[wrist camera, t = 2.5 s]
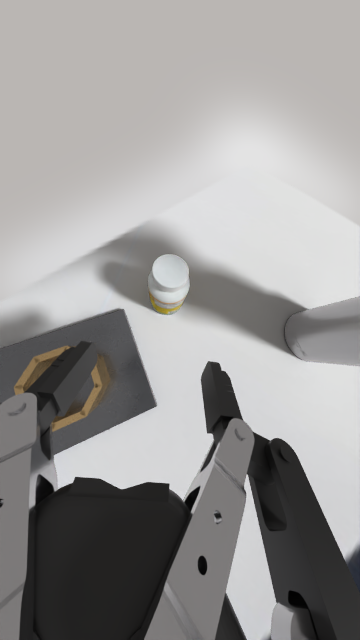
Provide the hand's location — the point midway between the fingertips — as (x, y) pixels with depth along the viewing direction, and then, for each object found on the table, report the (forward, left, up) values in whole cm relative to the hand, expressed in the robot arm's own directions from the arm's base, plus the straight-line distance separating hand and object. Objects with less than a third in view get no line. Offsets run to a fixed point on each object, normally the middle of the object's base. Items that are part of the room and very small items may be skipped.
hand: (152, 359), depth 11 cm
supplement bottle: (-5, -8, -13) cm, 16 cm away
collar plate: (+11, -1, -13) cm, 17 cm away
